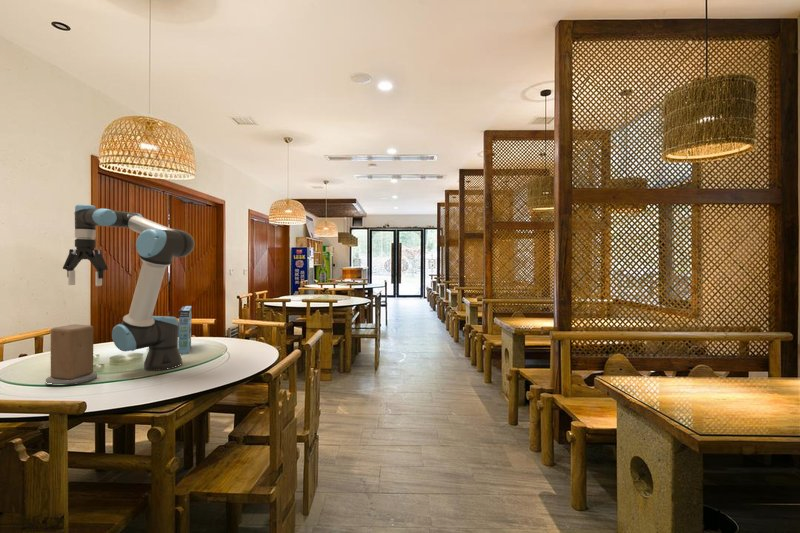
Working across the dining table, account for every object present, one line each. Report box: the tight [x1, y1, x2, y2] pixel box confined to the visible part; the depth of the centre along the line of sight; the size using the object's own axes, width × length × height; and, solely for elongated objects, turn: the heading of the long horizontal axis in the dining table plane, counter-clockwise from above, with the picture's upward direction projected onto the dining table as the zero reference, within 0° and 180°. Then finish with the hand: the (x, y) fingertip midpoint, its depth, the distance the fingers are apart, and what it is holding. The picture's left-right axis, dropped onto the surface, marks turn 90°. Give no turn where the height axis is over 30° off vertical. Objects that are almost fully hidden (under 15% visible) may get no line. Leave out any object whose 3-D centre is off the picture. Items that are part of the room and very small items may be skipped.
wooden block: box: [50, 323, 94, 380], centre depth 160 cm, size 10×10×20 cm
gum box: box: [178, 305, 193, 355], centre depth 215 cm, size 20×5×23 cm, turn 24°
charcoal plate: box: [45, 370, 98, 385], centre depth 160 cm, size 16×16×2 cm
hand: (85, 285), depth 182 cm, fingers open, 13 cm apart
